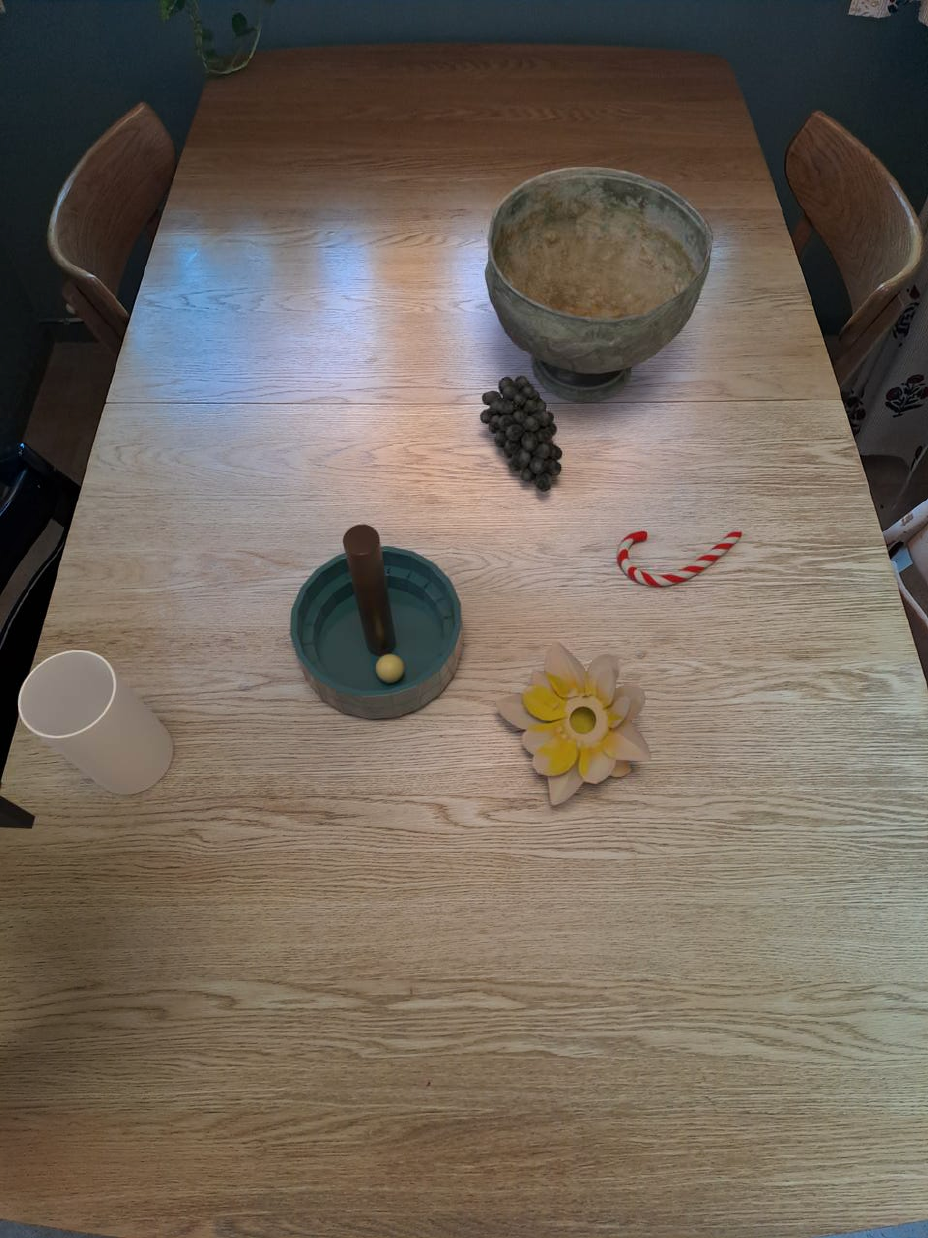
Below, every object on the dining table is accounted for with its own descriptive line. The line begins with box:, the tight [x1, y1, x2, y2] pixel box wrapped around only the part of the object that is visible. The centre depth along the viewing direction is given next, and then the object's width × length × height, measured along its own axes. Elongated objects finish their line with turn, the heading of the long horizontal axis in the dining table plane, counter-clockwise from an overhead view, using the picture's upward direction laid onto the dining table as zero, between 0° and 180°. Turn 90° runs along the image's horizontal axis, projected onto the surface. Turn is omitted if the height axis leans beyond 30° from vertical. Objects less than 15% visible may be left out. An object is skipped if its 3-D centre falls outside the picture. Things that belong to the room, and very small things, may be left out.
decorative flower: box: [495, 640, 652, 806], centre depth 82 cm, size 15×11×10 cm
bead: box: [376, 654, 404, 683], centre depth 87 cm, size 3×3×3 cm
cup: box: [17, 649, 175, 796], centre depth 78 cm, size 8×8×16 cm
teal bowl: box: [289, 545, 463, 719], centre depth 88 cm, size 17×17×6 cm
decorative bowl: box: [484, 166, 714, 403], centre depth 102 cm, size 26×26×20 cm
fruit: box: [479, 375, 564, 493], centre depth 100 cm, size 9×8×15 cm
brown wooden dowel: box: [342, 524, 396, 656], centre depth 82 cm, size 3×3×20 cm
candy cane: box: [616, 528, 743, 587], centre depth 96 cm, size 8×1×15 cm
